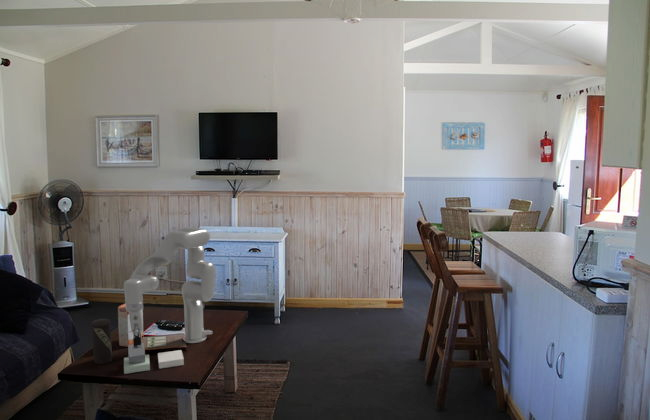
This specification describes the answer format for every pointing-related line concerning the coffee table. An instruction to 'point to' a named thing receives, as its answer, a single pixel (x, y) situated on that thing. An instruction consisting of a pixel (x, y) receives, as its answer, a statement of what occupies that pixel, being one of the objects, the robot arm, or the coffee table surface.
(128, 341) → the cracker box
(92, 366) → the coffee table surface
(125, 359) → the stand
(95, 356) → the container
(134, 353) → the housing
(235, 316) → the coffee table surface
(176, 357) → the stand
